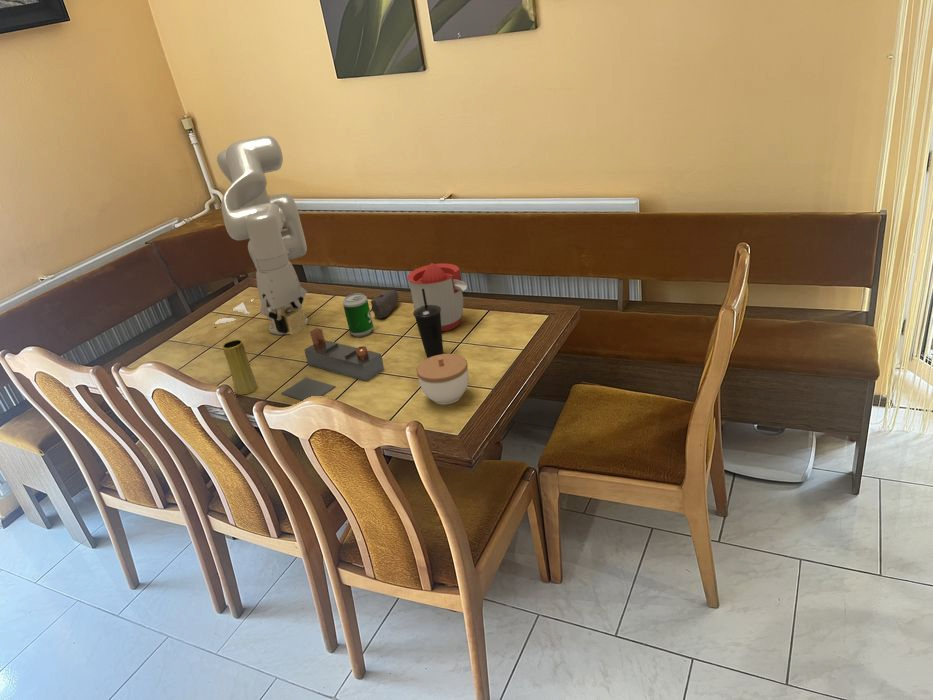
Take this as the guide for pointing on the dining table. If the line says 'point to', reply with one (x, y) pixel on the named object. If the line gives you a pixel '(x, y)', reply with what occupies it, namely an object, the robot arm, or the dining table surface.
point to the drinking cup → (430, 327)
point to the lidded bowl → (443, 377)
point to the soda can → (358, 314)
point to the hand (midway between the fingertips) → (290, 327)
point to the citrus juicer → (439, 291)
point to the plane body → (343, 358)
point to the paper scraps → (238, 308)
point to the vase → (239, 367)
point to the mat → (308, 389)
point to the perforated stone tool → (384, 303)
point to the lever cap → (292, 319)
